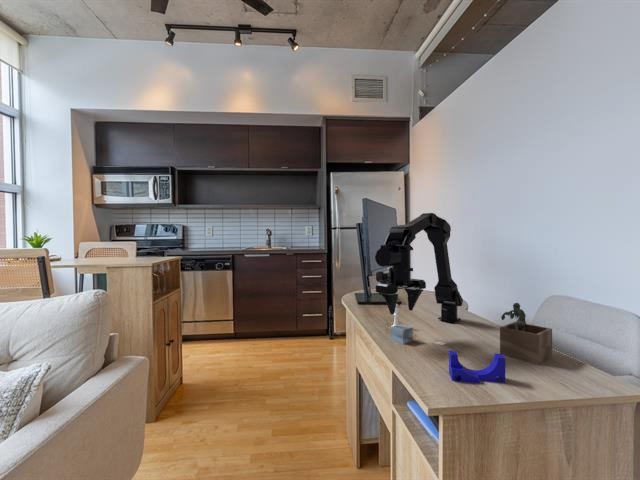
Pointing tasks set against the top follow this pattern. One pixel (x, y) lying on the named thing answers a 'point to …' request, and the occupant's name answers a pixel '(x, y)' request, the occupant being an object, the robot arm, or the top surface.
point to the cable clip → (490, 373)
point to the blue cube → (402, 334)
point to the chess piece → (396, 316)
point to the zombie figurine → (517, 313)
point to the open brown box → (526, 343)
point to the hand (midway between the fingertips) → (401, 312)
